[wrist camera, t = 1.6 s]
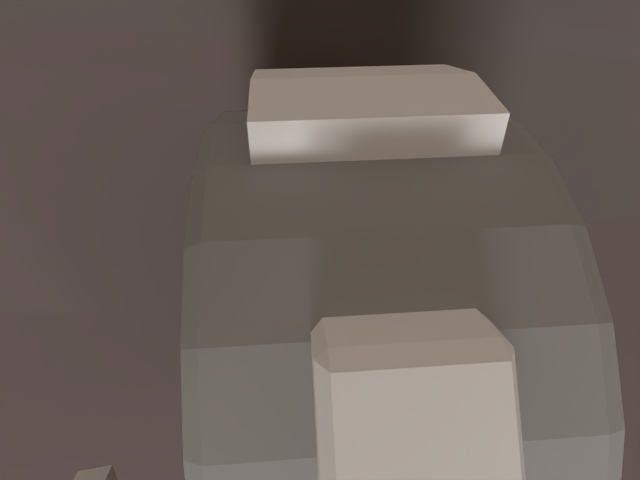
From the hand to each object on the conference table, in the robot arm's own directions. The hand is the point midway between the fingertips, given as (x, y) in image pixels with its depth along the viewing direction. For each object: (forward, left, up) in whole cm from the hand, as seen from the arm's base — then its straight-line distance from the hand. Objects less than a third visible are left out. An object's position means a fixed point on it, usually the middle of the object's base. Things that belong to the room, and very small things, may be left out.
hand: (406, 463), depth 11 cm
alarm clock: (0, 0, -17) cm, 17 cm away
